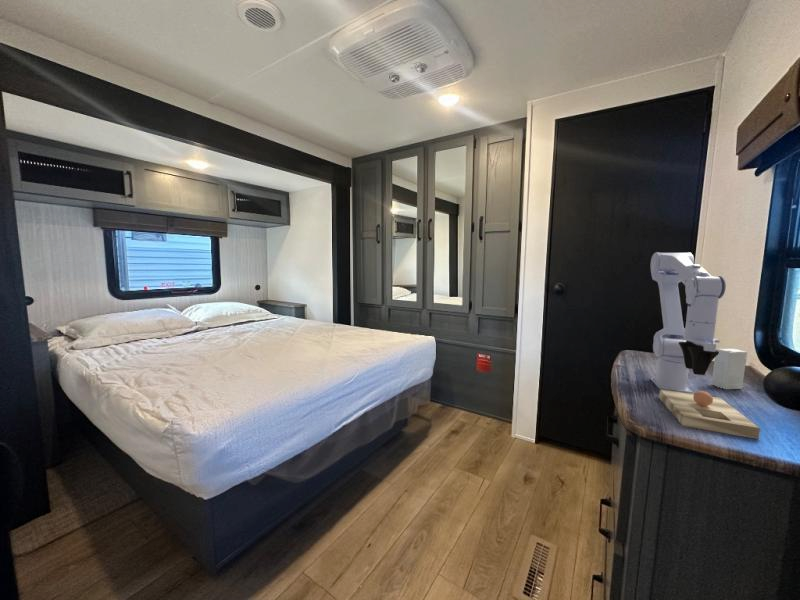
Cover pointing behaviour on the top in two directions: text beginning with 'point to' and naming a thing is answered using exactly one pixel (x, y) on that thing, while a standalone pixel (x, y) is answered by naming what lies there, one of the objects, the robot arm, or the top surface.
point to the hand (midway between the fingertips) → (694, 371)
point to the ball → (703, 398)
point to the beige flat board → (708, 414)
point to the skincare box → (729, 368)
